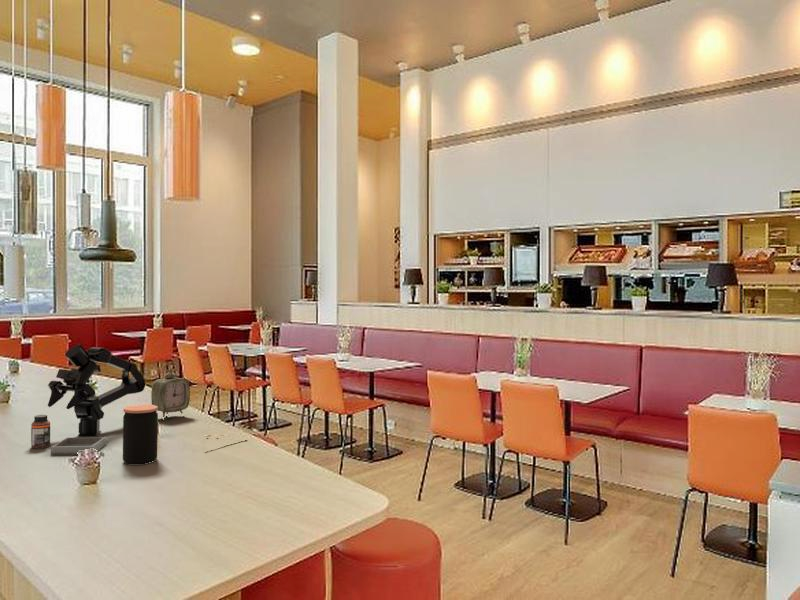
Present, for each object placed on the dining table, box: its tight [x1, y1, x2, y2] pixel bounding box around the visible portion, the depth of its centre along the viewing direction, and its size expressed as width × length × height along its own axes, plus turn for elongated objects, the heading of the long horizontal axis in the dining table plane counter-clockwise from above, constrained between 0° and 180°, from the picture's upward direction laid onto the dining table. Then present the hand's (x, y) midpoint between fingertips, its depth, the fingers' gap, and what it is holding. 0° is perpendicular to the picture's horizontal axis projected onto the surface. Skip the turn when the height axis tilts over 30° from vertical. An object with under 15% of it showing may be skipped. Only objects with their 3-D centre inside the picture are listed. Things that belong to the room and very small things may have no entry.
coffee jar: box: [122, 404, 159, 465], centre depth 206 cm, size 11×11×18 cm
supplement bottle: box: [30, 414, 51, 449], centre depth 222 cm, size 6×6×11 cm
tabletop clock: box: [150, 361, 191, 417], centre depth 274 cm, size 14×9×25 cm, turn 148°
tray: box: [50, 436, 107, 456], centre depth 219 cm, size 14×14×3 cm
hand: (57, 407), depth 228 cm, fingers open, 9 cm apart
